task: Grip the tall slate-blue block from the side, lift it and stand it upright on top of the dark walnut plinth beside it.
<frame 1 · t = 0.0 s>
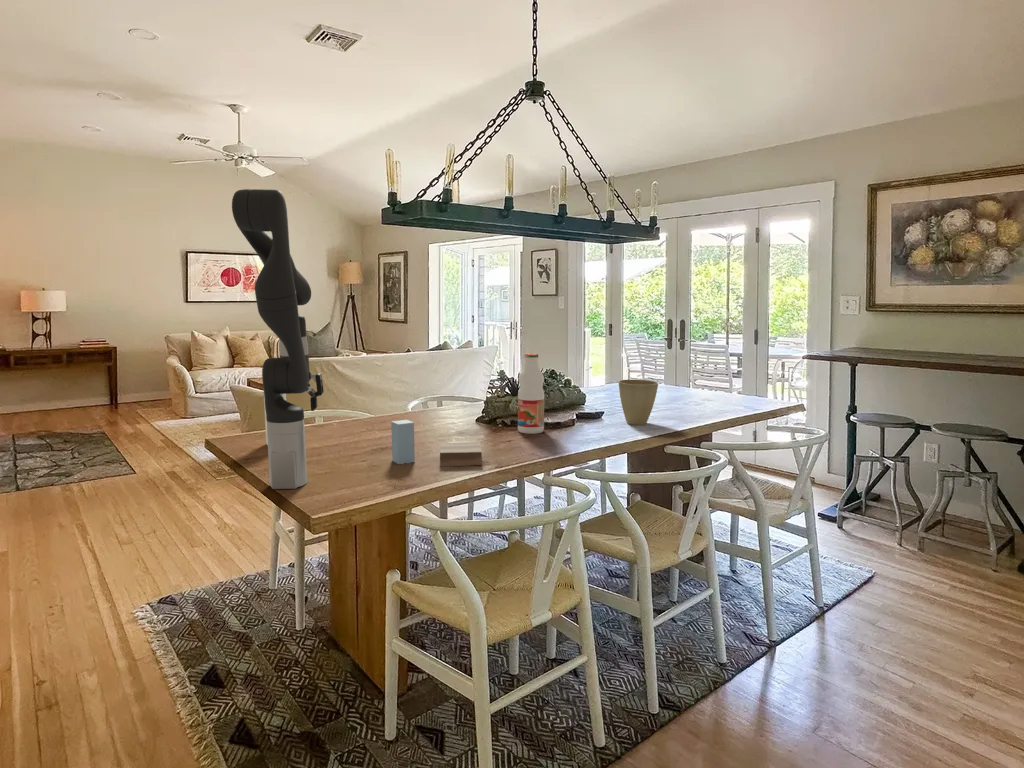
hand: (297, 410, 184), 17 cm above the table, tool pointing down, fingers open, 8 cm apart
blue block: (403, 461, 196), on the table
fruit juice: (530, 431, 238), on the table
walnut plinth: (460, 460, 197), on the table
plant pot: (637, 423, 253), on the table
milk: (277, 445, 217), on the table
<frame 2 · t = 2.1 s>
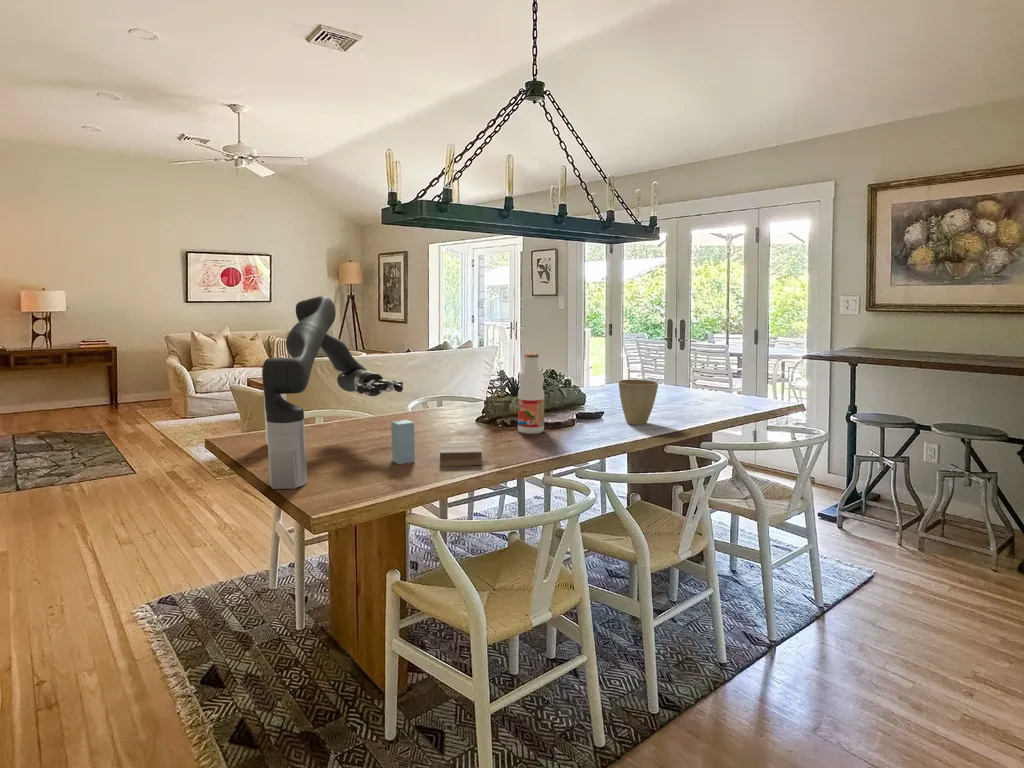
hand: (387, 389, 203), 20 cm above the table, tool horizontal, fingers open, 8 cm apart
nothing on the table moved.
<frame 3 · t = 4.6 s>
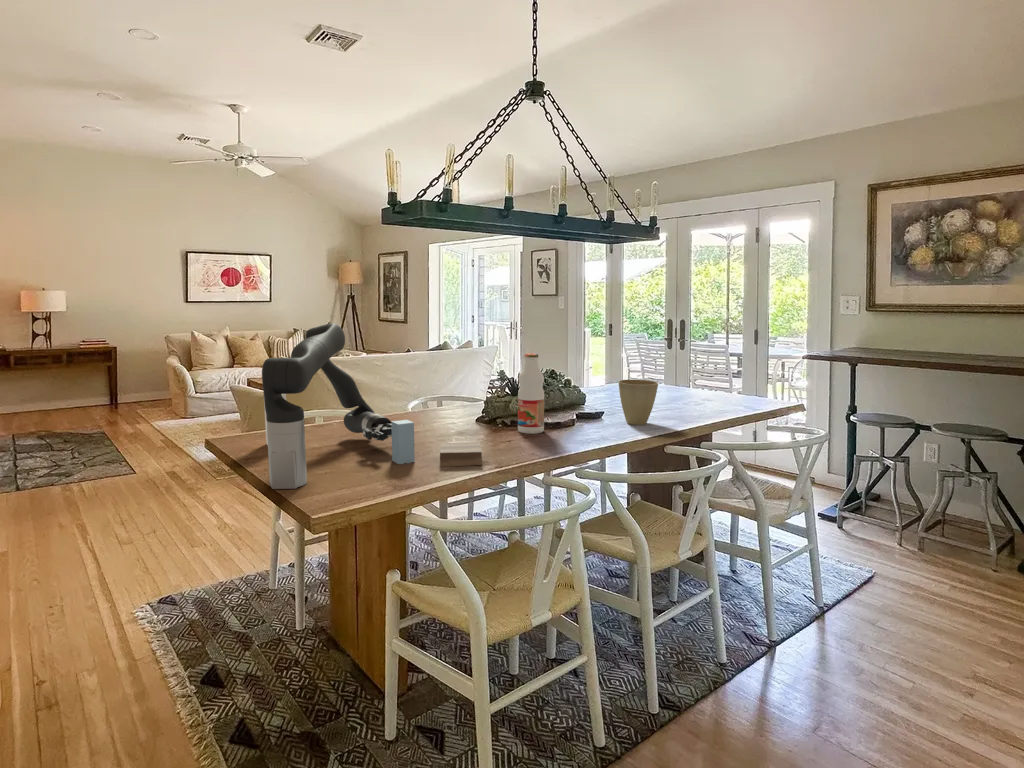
hand: (396, 435, 199), 7 cm above the table, tool horizontal, fingers open, 8 cm apart
nothing on the table moved.
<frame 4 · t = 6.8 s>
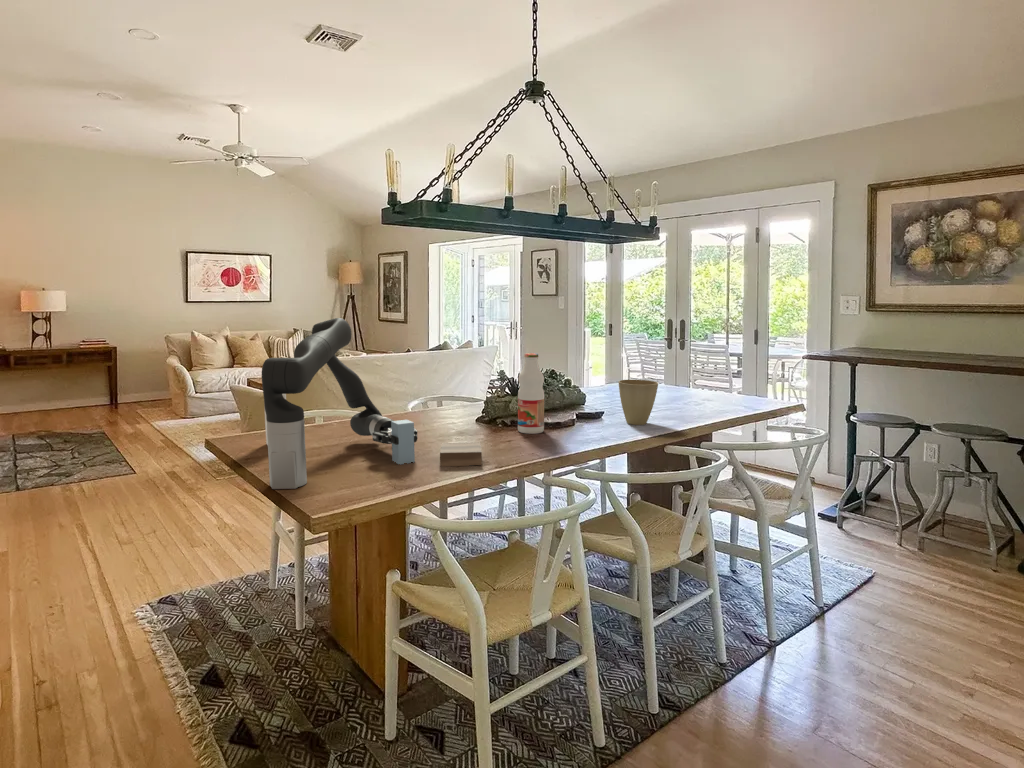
hand: (406, 440, 193), 7 cm above the table, tool horizontal, fingers closed on blue block, 5 cm apart
blue block: (403, 461, 196), on the table, touching gripper
everything else where it was.
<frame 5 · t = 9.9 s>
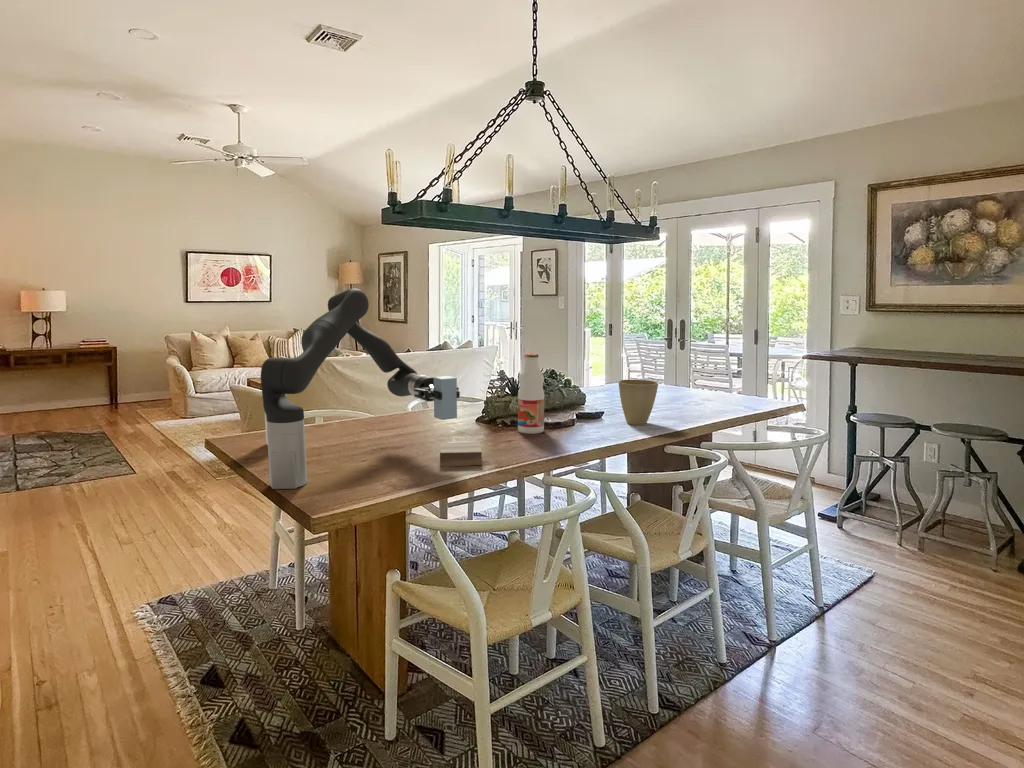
hand: (449, 395, 193), 20 cm above the table, tool horizontal, fingers closed on blue block, 5 cm apart
blue block: (445, 417, 196), point 13 cm above the table, touching gripper
everything else where it was.
when the fingers open (12 cm above the table, at t = 13.1 s): blue block stays where it is, resting on walnut plinth.
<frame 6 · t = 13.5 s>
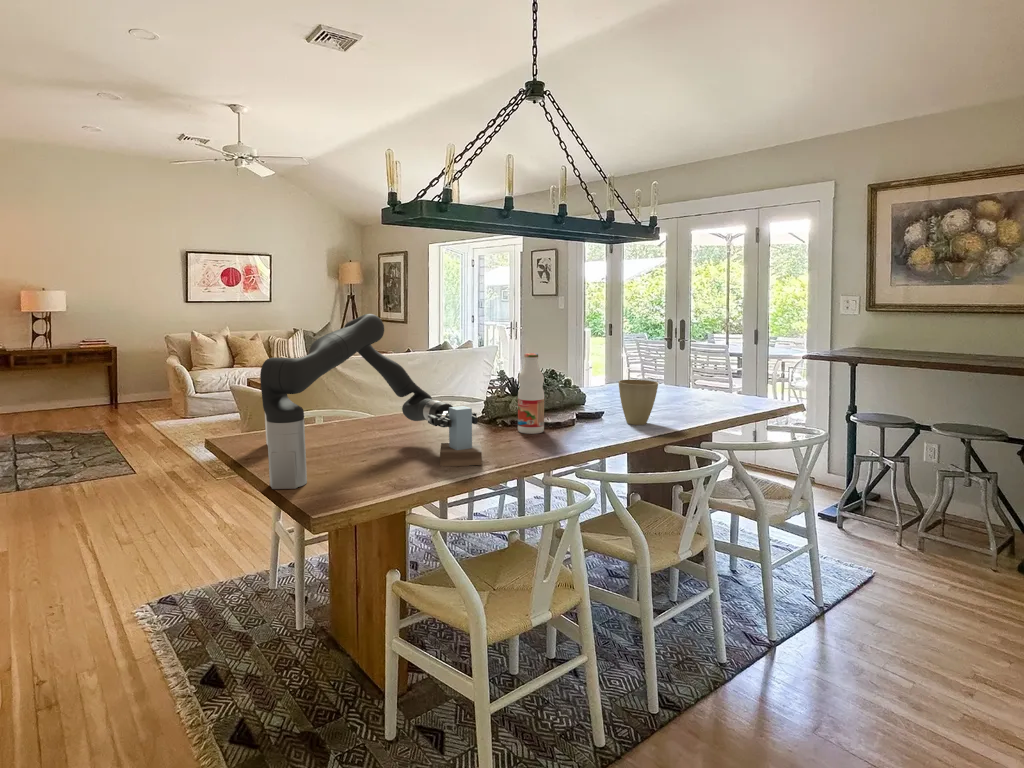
hand: (463, 422, 194), 12 cm above the table, tool horizontal, fingers open, 8 cm apart
blue block: (460, 447, 197), point 4 cm above the table, touching walnut plinth
everything else where it was.
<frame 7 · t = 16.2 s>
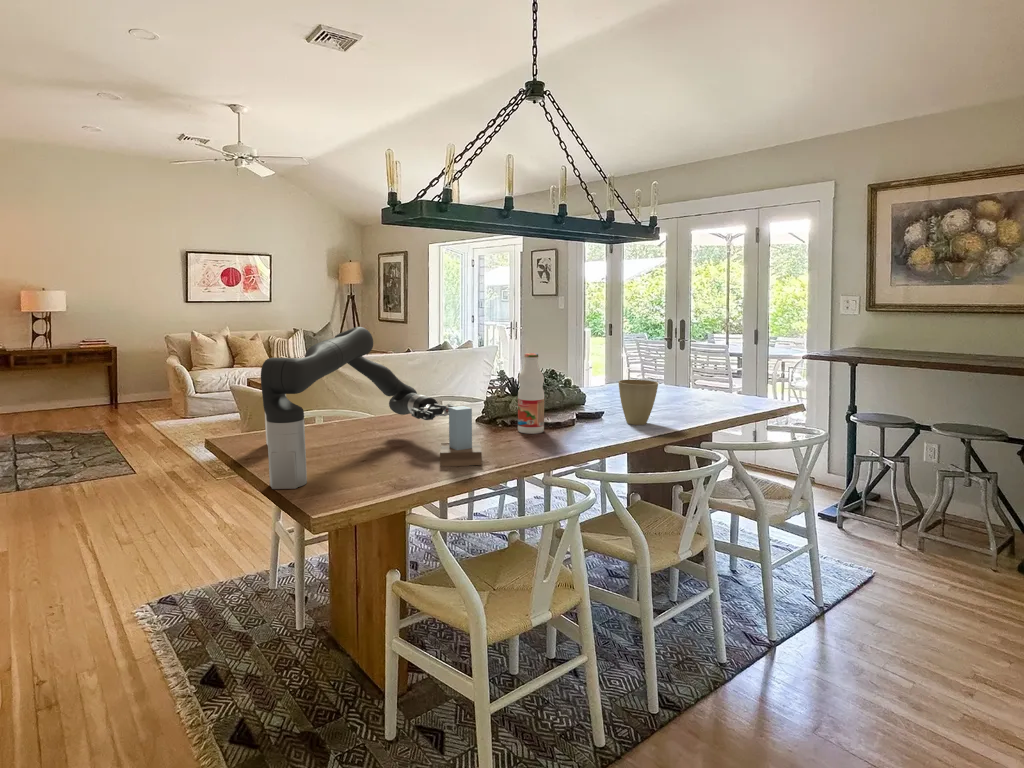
hand: (444, 415, 205), 12 cm above the table, tool horizontal, fingers open, 8 cm apart
nothing on the table moved.
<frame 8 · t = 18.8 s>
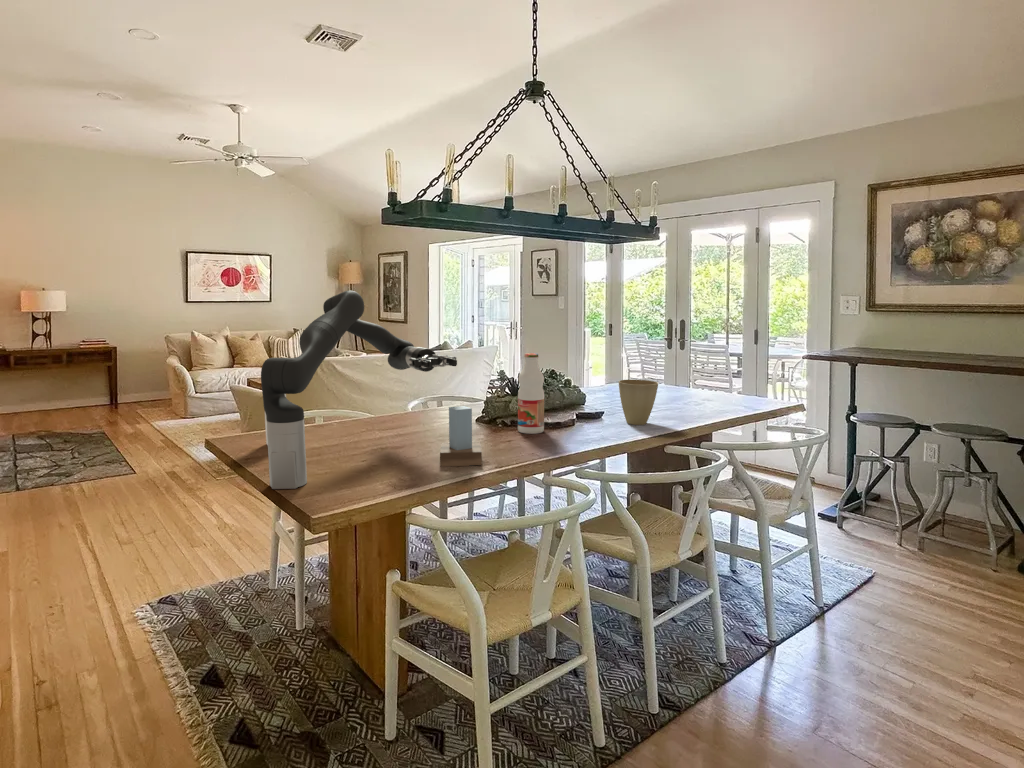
hand: (443, 363, 203), 28 cm above the table, tool horizontal, fingers open, 8 cm apart
nothing on the table moved.
at the end: blue block inside the target area on the walnut plinth (0.1 cm from its centre), point 4.0 cm above the walnut plinth's base; blue block tilted 0°; the gripper is holding nothing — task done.
